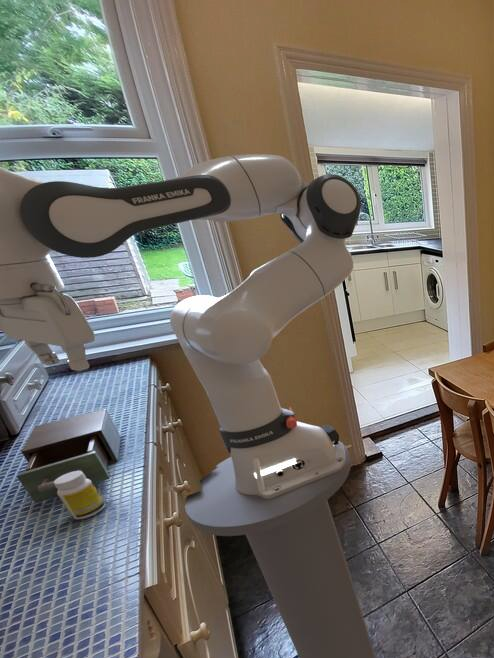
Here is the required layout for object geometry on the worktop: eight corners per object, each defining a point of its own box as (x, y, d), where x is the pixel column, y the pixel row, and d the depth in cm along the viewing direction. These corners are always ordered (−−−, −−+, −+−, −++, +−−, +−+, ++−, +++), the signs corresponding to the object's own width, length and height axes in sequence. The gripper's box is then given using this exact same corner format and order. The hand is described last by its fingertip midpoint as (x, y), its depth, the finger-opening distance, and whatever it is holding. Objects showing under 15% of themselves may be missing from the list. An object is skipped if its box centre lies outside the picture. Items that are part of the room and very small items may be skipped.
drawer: (108, 488, 86) (92, 461, 83) (30, 514, 79) (10, 486, 77) (113, 453, 98) (100, 428, 96) (47, 473, 92) (30, 447, 89)
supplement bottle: (112, 504, 82) (91, 470, 79) (86, 521, 78) (63, 486, 75) (93, 502, 83) (72, 468, 80) (66, 519, 79) (43, 484, 75)
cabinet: (118, 461, 97) (100, 429, 93) (42, 484, 90) (21, 451, 86) (121, 437, 107) (105, 408, 104) (54, 456, 100) (34, 426, 97)
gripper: (82, 279, 61) (124, 365, 67) (17, 277, 69) (59, 354, 74) (24, 289, 56) (75, 381, 62) (-40, 285, 63) (11, 367, 69)
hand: (66, 366), depth 68 cm, fingers open, 8 cm apart
